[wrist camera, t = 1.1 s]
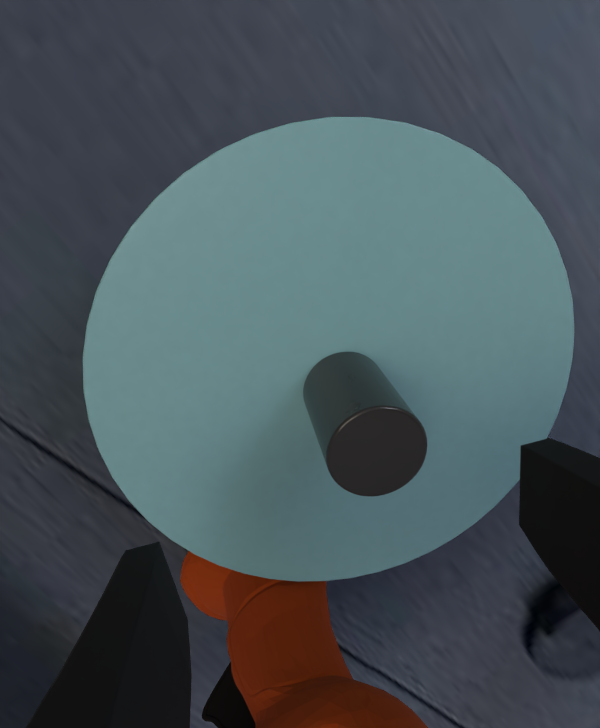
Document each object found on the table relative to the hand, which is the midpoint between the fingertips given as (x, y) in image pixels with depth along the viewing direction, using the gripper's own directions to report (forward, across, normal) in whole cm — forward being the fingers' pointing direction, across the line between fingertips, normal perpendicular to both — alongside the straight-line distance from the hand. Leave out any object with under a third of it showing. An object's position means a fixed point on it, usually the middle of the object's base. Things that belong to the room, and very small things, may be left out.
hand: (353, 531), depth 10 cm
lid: (+6, -1, 0) cm, 6 cm away
